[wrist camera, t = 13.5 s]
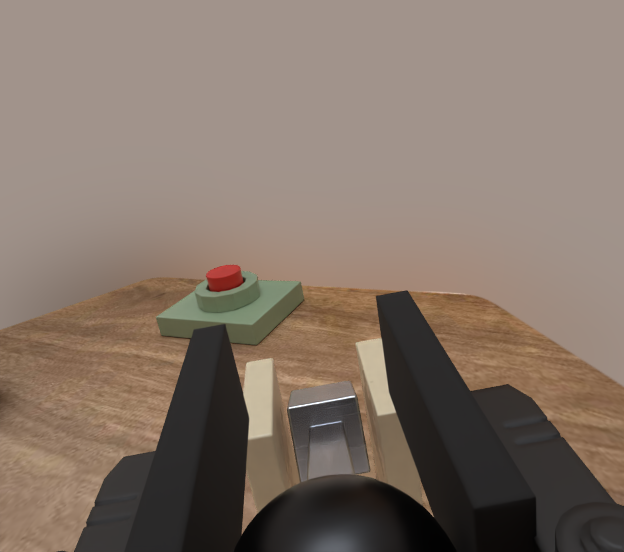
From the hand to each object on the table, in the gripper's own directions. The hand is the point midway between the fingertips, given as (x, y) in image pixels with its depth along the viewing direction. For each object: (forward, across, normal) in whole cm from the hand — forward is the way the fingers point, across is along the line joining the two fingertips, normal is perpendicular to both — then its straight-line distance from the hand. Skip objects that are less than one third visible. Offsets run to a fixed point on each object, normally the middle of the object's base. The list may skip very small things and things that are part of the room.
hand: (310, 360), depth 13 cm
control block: (+41, +8, +17) cm, 45 cm away
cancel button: (+41, +8, +13) cm, 43 cm away
